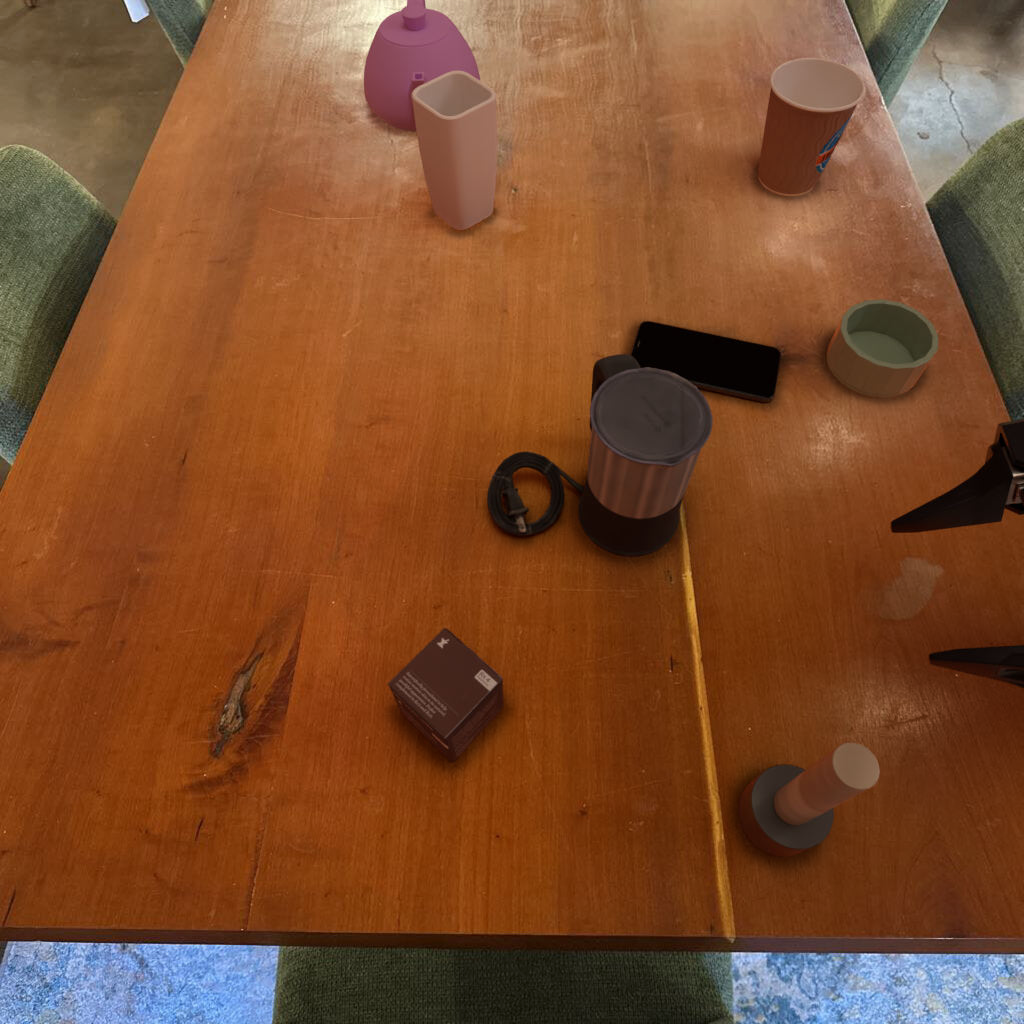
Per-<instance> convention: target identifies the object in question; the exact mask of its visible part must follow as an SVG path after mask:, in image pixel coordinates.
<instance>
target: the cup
mask: <svg viewBox="0 0 1024 1024" xmlns="http://www.w3.org/2000/svg"><path fill="white" fill-rule="evenodd" d="M412 101H413V108H414V116H415V124H416V131H417V132H416V137H417V142H418V151H419V155H420V160H421V165H422V170H423V175H424V179H425V183H426V187H427V192H428V195H429V199H430V202H431V206H432V209H433V212H434V214H435V215H436V216H437V217H438V218H440V219H441V220H442V221H443V222H445V223H446V224H447V225H448V226H450V227H451V228H452V229H454V230H459V231H465V230H468V229H470V228H472V227H474V226H476V225H477V224H478V223H480V222H482V221H483V220H485V219H486V218H488V217H490V216H491V215H492V214H493V212H494V205H495V197H496V186H497V185H496V184H497V174H498V113H497V111H498V110H497V93H496V91H495V90H494V89H493V88H492V87H490V86H489V85H488V84H486V83H484V82H482V80H480V81H479V80H478V79H476V78H475V77H473V76H472V75H470V74H469V73H466V72H464V71H451V72H448V73H445V74H443V75H441V76H439V77H437V78H435V79H433V80H431V81H429V82H427V83H425V84H423V85H421V86H419V87H417V88H416V89H414V91H413V92H412Z"/></svg>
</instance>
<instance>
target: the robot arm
mask: <svg viewBox="0 0 1024 1024" xmlns="http://www.w3.org/2000/svg"><path fill="white" fill-rule="evenodd" d="M994 435H995V437H994V441H993V443H992V444H990V445H989V446H988V447H987V450H986V455H985V461H984V464H983V465H982V466H981V467H979V469H977V471H976V472H975V473H974V474H972V475H971V476H970V477H968V478H966V480H963V482H961V483H960V484H958V485H956V486H955V487H953V488H951V489H950V490H948V491H946V492H944V493H942V494H941V495H938V496H937V497H934V498H933V499H932V500H929V501H927V502H924V504H923V503H922V504H921V505H919V506H918V507H915V508H913V509H912V510H910V511H908V512H906V513H904V514H902V515H901V516H899V517H896V518H895V519H893V520H892V521H891V522H890V527H889V528H890V531H891V533H893V534H915V533H916V534H917V533H925V532H932V531H939V530H946V529H955V528H962V527H971V526H979V525H987V524H994V523H1001V522H1002V521H1003V516H1004V513H1005V509H1006V510H1008V511H1010V512H1011V513H1014V514H1016V515H1018V516H1021V515H1024V418H1019V419H1014V420H1010V421H1004V422H999V423H997V427H996V431H995V434H994ZM927 656H928V657H927V660H928V663H929V665H931V666H934V667H939V668H941V669H947V670H951V671H955V672H960V673H964V674H967V675H972V676H976V677H981V678H985V679H988V680H994V681H998V682H1001V683H1004V684H1008V685H1011V686H1015V687H1017V688H1021V689H1024V644H1018V645H998V646H980V647H964V648H962V647H961V648H953V649H947V650H941V651H936V652H931V653H928V655H927Z"/></svg>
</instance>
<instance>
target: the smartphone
mask: <svg viewBox="0 0 1024 1024" xmlns="http://www.w3.org/2000/svg"><path fill="white" fill-rule="evenodd" d="M629 355H631V356H633V357H634V358H635V359H636V361H637V362H638V364H639V365H640V367H641V368H646V367H650V368H657V369H661V370H666V371H669V372H672V373H675V374H677V375H679V376H680V377H682V378H684V379H686V380H688V381H689V382H691V383H692V384H693V385H694V386H696V387H697V388H698V389H702V390H703V389H704V390H707V391H712V392H714V393H715V392H716V393H721V394H724V395H730V396H733V397H738V398H744V399H747V400H752V401H756V402H757V401H758V402H760V403H761V402H762V403H769V402H771V401H773V400H774V398H775V396H776V392H777V386H778V380H779V375H780V374H779V373H780V368H781V361H782V352H781V350H780V349H778V348H777V347H774V346H771V345H767V344H761V343H756V342H752V341H748V340H743V339H737V338H733V337H729V336H723V335H719V334H712V333H708V332H704V331H699V330H695V329H689V328H685V327H680V326H676V325H671V324H666V323H662V322H656V321H651V320H644V321H642V322H641V323H640V324H639V325H638V328H637V331H636V333H635V336H634V340H633V343H632V347H631V351H630V353H629Z"/></svg>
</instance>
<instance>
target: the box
mask: <svg viewBox="0 0 1024 1024" xmlns="http://www.w3.org/2000/svg"><path fill="white" fill-rule="evenodd" d="M503 682H504V678H503V677H502V676H501V675H500V674H499V673H498V672H497V671H496V670H494V669H493V668H492V667H491V666H490V665H489V664H488V663H487V662H485V661H484V660H483V659H482V658H481V657H480V656H479V655H478V654H477V653H476V652H475V651H474V650H473V649H472V648H471V647H469V646H467V645H466V644H465V643H464V642H463V641H462V640H460V639H459V637H458V636H456V635H455V634H454V633H453V632H452V631H451V630H450V629H448V628H446V627H443V628H442V629H441V630H440V631H439V633H437V635H435V637H434V638H432V639H431V640H430V642H428V643H427V644H426V646H424V647H423V648H422V649H421V650H420V652H418V653H417V654H416V655H415V656H414V657H413V658H412V659H411V660H410V661H409V662H408V663H407V664H406V665H405V666H404V667H403V668H402V669H401V670H399V671H398V673H397V674H395V676H394V677H393V678H392V679H390V681H388V683H387V686H388V687H389V689H390V691H391V693H392V695H393V697H394V700H395V702H396V704H397V707H398V709H399V711H400V713H401V714H402V716H404V718H405V719H407V721H408V722H409V723H411V725H412V726H414V728H415V730H417V731H418V732H419V733H420V734H421V735H422V736H423V737H424V738H425V739H426V740H427V741H428V742H429V743H430V744H431V745H432V746H433V747H435V748H436V749H437V750H438V752H440V753H441V754H442V755H443V756H444V757H445V758H446V759H447V760H448V761H449V762H450V763H454V762H456V760H457V759H458V758H459V757H460V756H461V755H462V754H463V753H464V752H465V751H466V749H467V748H468V747H469V746H470V745H471V744H472V743H473V742H474V740H475V739H476V738H477V737H478V736H479V735H480V734H481V733H482V732H483V731H484V730H485V728H487V726H488V725H489V724H491V722H492V721H493V719H495V717H496V716H497V715H498V714H499V713H500V712H501V711H502V710H503V708H504V684H503Z"/></svg>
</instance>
